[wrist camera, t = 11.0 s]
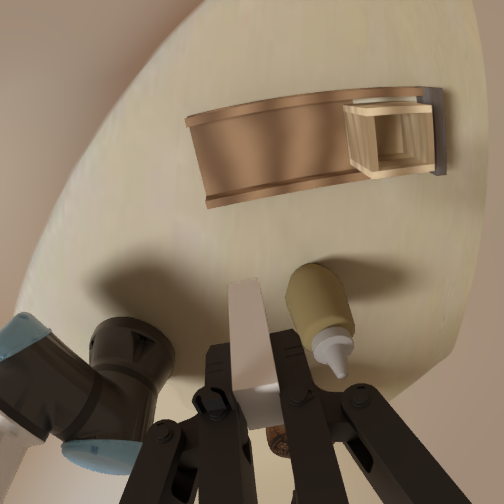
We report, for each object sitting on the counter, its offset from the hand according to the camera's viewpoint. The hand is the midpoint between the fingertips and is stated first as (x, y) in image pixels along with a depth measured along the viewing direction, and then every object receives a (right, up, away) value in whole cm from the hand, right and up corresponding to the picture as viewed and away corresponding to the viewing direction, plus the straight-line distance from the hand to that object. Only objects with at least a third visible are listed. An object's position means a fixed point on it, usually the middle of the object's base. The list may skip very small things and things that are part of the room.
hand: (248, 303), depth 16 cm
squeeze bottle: (+8, -1, +30) cm, 31 cm away
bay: (+9, +16, +20) cm, 27 cm away
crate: (+15, +17, +19) cm, 30 cm away
